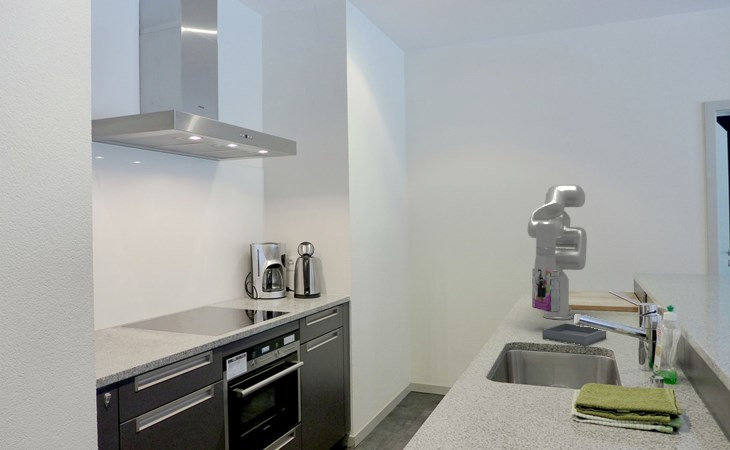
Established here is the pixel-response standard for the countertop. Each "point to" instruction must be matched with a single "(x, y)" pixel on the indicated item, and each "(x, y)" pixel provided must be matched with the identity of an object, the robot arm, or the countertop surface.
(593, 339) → the tray
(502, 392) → the countertop surface
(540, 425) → the countertop surface
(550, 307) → the candy bar box
